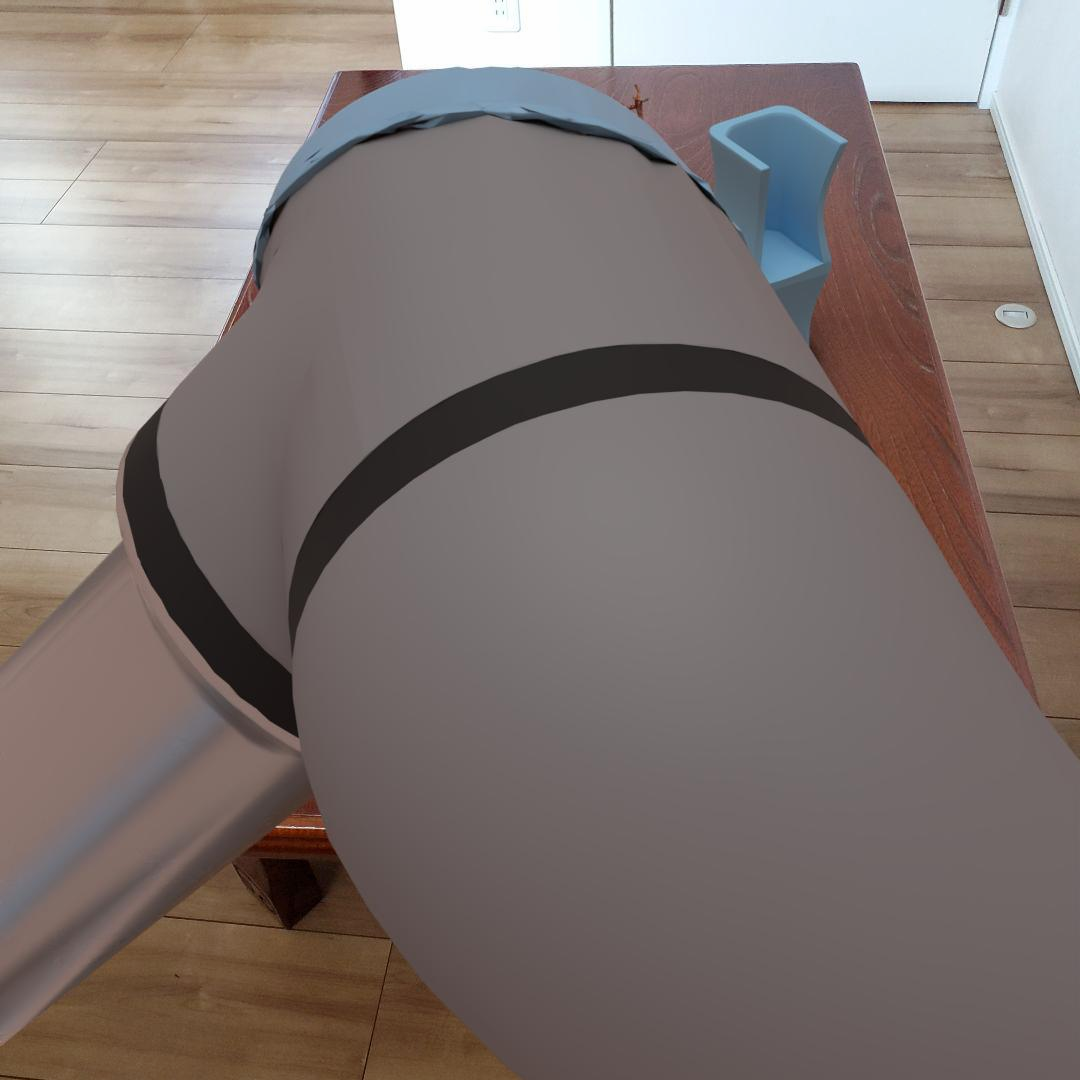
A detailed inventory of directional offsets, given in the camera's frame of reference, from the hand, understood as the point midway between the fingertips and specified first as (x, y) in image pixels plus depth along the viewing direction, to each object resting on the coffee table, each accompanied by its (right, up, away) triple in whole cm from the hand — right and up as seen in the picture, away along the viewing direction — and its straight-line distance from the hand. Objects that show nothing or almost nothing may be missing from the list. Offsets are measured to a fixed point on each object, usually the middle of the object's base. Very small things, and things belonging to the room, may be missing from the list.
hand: (570, 673), depth 68 cm
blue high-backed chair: (+17, +24, +31) cm, 43 cm away
